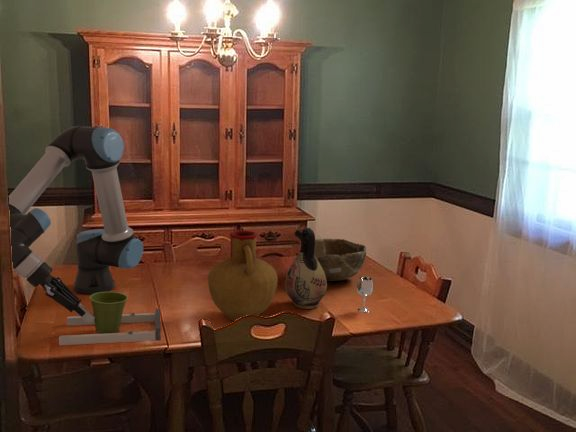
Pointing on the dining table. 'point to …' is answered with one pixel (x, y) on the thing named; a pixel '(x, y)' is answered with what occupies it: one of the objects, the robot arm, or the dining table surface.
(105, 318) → the plant pot
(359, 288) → the wineglass
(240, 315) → the vase
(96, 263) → the robot arm
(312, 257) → the ceramic jug
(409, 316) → the dining table surface
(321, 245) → the bowl
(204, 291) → the dining table surface
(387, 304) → the dining table surface
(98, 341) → the guide channel
